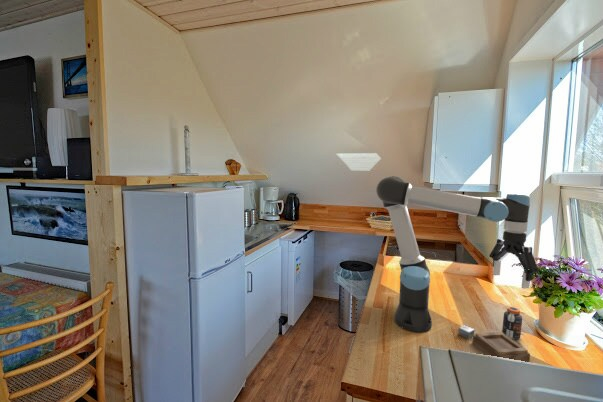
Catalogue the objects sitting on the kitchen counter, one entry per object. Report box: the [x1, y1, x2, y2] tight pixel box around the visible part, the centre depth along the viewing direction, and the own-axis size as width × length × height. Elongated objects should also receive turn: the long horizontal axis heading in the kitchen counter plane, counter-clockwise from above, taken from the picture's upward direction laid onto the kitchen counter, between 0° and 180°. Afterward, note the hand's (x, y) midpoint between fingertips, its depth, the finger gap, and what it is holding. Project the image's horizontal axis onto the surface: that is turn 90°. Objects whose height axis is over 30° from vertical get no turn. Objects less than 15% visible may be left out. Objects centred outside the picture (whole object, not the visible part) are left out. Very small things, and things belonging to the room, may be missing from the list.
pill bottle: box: [501, 306, 523, 340], centre depth 112 cm, size 6×6×11 cm
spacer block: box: [458, 324, 475, 340], centre depth 112 cm, size 4×4×3 cm
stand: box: [472, 331, 531, 363], centre depth 102 cm, size 12×12×4 cm
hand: (510, 281), depth 116 cm, fingers open, 13 cm apart
